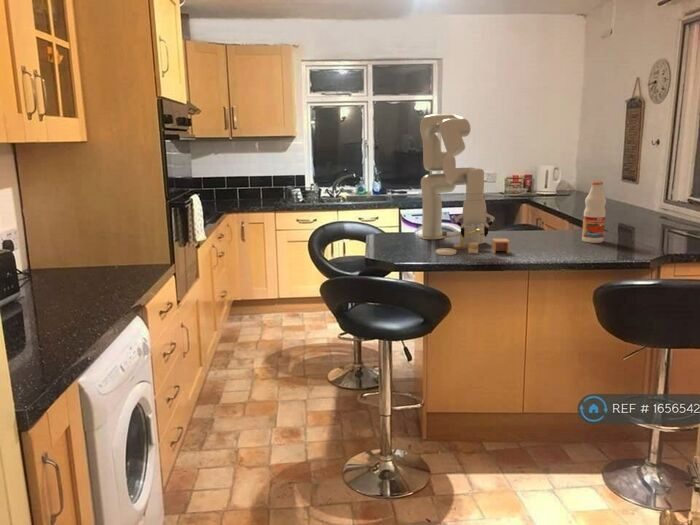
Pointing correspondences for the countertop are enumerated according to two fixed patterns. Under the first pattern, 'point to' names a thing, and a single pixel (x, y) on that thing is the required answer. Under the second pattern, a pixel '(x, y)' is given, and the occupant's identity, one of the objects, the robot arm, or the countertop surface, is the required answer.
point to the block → (473, 247)
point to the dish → (445, 251)
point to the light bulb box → (474, 234)
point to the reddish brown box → (500, 245)
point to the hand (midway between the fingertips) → (474, 236)
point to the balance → (461, 246)
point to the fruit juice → (594, 214)
